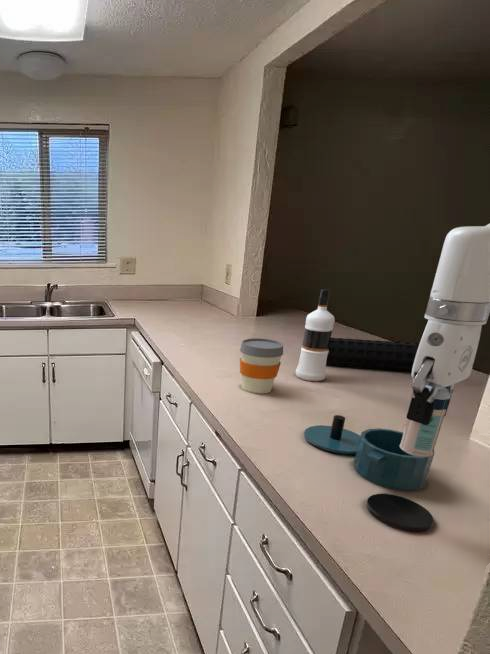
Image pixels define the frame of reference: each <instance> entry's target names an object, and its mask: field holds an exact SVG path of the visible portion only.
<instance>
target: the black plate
mask: <svg viewBox="0 0 490 654" xmlns="http://www.w3.org/2000/svg"><path fill="white" fill-rule="evenodd" d="M366 509H367V511H368V513H369V514H370V515H371V516H372V517H373V518H375V519H376V520H378V521H379V522H381V523H382V524H384V525H387V526H389V527H391V528H394V529H396V530H399V531H404V532H408V533H424V532H428V531H429V530H431V529H432V527H433V524H434V521H435V520H434V517H433V515H432V513H431V512H430V511H429V510H428V509H427V508H426V507H424V506H423V505H422V504H419V503H417V502H416V501H414V500H411V499H409V498H406V497H403V496H400V495H396V494H392V493H375V494H372V495H370V496H369V497H368V498H367V500H366Z"/></svg>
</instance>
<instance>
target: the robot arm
mask: <svg viewBox="0 0 490 654" xmlns="http://www.w3.org/2000/svg"><path fill="white" fill-rule="evenodd" d="M489 316H490V223H488V224H486V225H483V226H482V225H477V226H475V225H474V226H473V225H472V226H471V225H469V226H458V227H455V228H454V227H453V229H451V230H450V231H449V232H448V233H447V234H446V236H445V239H444V242H443V245H442V249H441V253H440V257H439V261H438V264H437V268H436V273H435V276H434V279H433V283H432V287H431V290H430V295H429V297H428V302H427V305H426V309H425V313H424V317H423V318H424V319H426V320H427V323H426V325H425V328H424V331H423V334H422V336H421V339H420V341H419V343H420V344H419V347H418V350H417V353H416V357H415V360H414V364H413V368H412V371H411V373H410V375H411V376H410V377H411V378H412V382H411V385H410V386H411V388H412V393H411V396H410V397H411V398H410V402H409V407H408V410H407V414H406V420H407V419H409V420H412V421H415V422H418V423H421V424H424V425H428V424H430V421H431V418H432V414H433V411H434V408H435V404H436V402H433V401H434V399H435V396H436V394H437V391H438V389H439V386H441V387H444V388H446V389H448V390H449V393H450V396H451V398H450V399H449V402H448V405H447V408H446V412H445V415H444V417H446V415H447V413H448V409H449V406H450V403H451V399H452V395H453V393H454V390H455V387H456V386H455V385H456V384H458V383H460V382H462V381H464V380H466V379H468V378H469V377H470V376H471V374H472V371H473V367H474V363H475V359H476V355H477V352H478V348H479V343H480V338H481V333H482V327H483V326H484V325H486V324H487V322H488V319H489ZM429 379H432V381H430V380H429ZM426 385H428V386H432V389H431V391H430V392H429V388H426Z"/></svg>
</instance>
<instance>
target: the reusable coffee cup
mask: <svg viewBox="0 0 490 654" xmlns="http://www.w3.org/2000/svg"><path fill="white" fill-rule="evenodd" d="M239 352H240V357H239V374H240V375H241V376H240V380H241V389H243V390H244V391H246V392H249V393H252V394H253V393H254V394H268V393H270V392H271V391H272V388H273V385H274V382H275V378H277V377H278V373H279V370H280V367H281V358H282V357H283V355H284V343H282V342H280V341H277V340H274V339H269V338H258V337H257V338H256V337H255V338H253V337H252V338H246V339H243V340H242V341H241V344H240V349H239Z"/></svg>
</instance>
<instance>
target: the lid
mask: <svg viewBox="0 0 490 654" xmlns="http://www.w3.org/2000/svg"><path fill="white" fill-rule="evenodd" d="M345 421H346V417H345V416H343V415H339V414H335V415H333V419H332V424H331V425H312V426H309V427H307V428H306V429H304V431H303V436H304V439H305V440H306V441H307V442H308V443H310V444H312V445H313V446H315V447H317V448H318V449H322V450H325V451H328V452H332V453H336V454H345V455H356V452H357V448H358V444H359V440H360V436H361V434H358V433H356V432H354V431H352V430H349V429H346V428H345V427H344V426H345Z"/></svg>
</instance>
